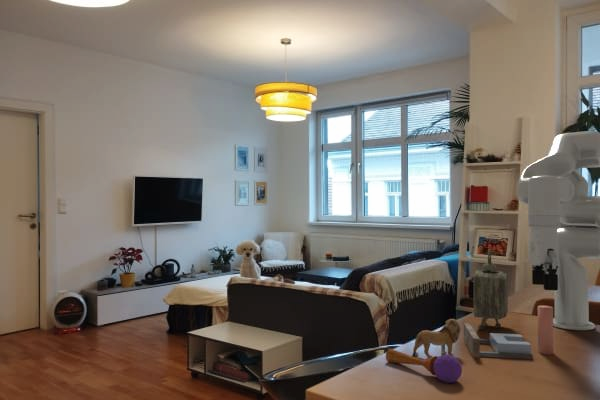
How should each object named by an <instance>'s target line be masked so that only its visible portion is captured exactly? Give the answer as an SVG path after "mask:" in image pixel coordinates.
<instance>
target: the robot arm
mask: <svg viewBox="0 0 600 400" xmlns="http://www.w3.org/2000/svg"><path fill="white" fill-rule="evenodd" d="M590 168H600V132H598V131H596V130H587V131H577V132H576V131H575V132H565V133H561V134H558V135H556V136H555V137H554V138H553V139H552V141H551V143H550V145H549V147H548V150H547V153H546V155H545V157H542V158H541V159H538V160H537V161H535V162H532V164H530V165H528V166H527V167H525V168H524V169H523V171H522V172H521V174H520V177H519V179H518V181H517V185H516V196H517V199H518V201H520V203H522V204H525V205H527V208H528V209H527V210H528V213H527V214H528V221H527V222H528V225H527V227H528V228H529V230H530V231H529V241H528V262H529V263H530V264H532V265H531V268H532V269H531V276H532V277H531V282H532V285H537V286H538V285H539V286H540V285H542V286H543V290H544V291H554V317H553V327H555V328H559V329H564V330H570V331H591V330H594V329H595V324H594V323H593V322H591V321H589V320H590V319H589V313H590V311H589V273H588V269H587V267H586V266H585V265H584V264H583V262H581V261H580V259H594V260H595V259H598V260H600V195H593V196H592V195H589V182H588V180H587V179H586V178H585V177H584V176H583V175H582V174H581V173H580V172H578V171H577V170H576V169H590ZM561 224H563V225H567V226H588V227H561ZM589 226H590V227H589ZM591 226H593V227H591ZM596 227H597V228H596Z"/></svg>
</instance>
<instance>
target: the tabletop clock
mask: <svg viewBox="0 0 600 400" xmlns="http://www.w3.org/2000/svg"><path fill="white" fill-rule="evenodd" d="M508 281H509V280H508V274H507V273H505V272H503V271H501V270H500V271H499V268H498V266H497V265H496V264H495V263H492V249H491V248H489V249H488V250H487V262H486V263H484V264H483V265H482V266H481V269H480V270H479V269H477V270H475V272H474V274H473V285H472V286H473V287H472V288H473V290H472V291H473V292H472V293H473V317H474V318H481V320H480V321H481V323H480V324H478V325H477V329H478V331H482V330H484V326H483V325H484V324H485V323H487V320H488V319H491V320H492V319H494V320H495V324H494V326H495V328H496V329H501V327H502V325H501V324H500V322H499V320H501V319H504V318H506V317H507V315H508V308H509V307H508V306H509V305H508V303H509V296H508V295H509V294H508V293H509V292H508V288H509V287H508V284H509V283H508Z"/></svg>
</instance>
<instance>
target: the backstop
mask: <svg viewBox="0 0 600 400" xmlns="http://www.w3.org/2000/svg"><path fill="white" fill-rule="evenodd" d="M463 342H464V343H465V345H466V346H467V349H468V351H469V352H470V355H472V358H473V359H480V358H481V357H484V358H486V357H488V358H502V359H505V358H506V359H521V360H522V359H523V360H524V359H525V360H533V359H534V357H533V356H534V355H533V354H532V353H531V354H522V353H502V352H495V351H481V350H480V346H481V345H480V344H483V345H490V338H480V337H479V336H478V333H477V332H476V331H475V329H473V327H472V325H471V324H470V323H469V322H463Z"/></svg>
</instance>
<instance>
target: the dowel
mask: <svg viewBox="0 0 600 400" xmlns="http://www.w3.org/2000/svg"><path fill="white" fill-rule="evenodd" d="M553 318H554V307H553V306H549V305H538V306H537V352H538V353H539V354H542V355H549V356H550V355H551V356H552V355H554V326H553Z"/></svg>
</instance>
